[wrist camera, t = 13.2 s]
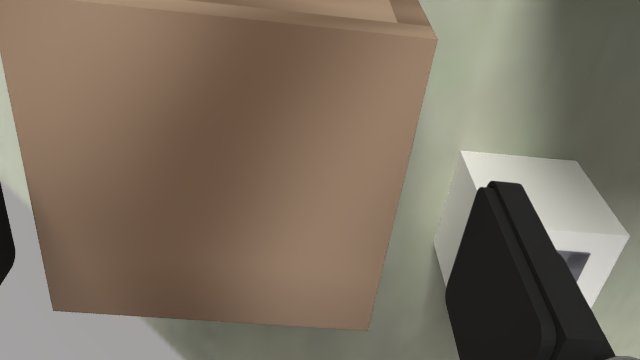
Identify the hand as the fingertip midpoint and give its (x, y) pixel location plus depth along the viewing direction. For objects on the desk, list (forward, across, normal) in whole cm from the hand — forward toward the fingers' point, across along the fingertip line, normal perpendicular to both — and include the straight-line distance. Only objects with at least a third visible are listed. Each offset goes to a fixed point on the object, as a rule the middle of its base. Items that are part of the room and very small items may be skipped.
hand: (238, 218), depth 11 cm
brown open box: (+7, +1, 0) cm, 7 cm away
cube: (+8, -8, +4) cm, 12 cm away
